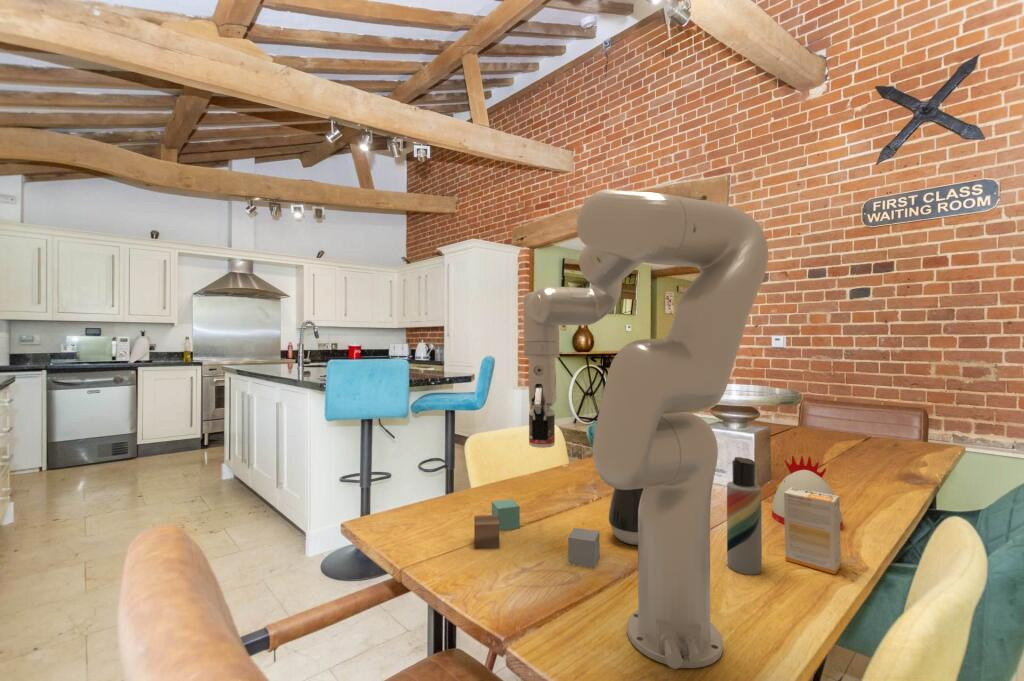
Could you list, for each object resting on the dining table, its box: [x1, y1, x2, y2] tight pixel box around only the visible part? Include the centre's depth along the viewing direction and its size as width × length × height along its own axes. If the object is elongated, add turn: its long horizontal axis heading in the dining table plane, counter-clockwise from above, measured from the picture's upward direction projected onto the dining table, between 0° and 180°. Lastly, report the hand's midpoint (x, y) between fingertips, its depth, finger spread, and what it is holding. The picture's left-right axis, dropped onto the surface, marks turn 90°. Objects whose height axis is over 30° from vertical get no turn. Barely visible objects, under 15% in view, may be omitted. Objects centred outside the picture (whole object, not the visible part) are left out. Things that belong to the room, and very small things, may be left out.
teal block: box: [491, 498, 521, 532], centre depth 107 cm, size 5×5×5 cm
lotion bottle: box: [726, 456, 763, 575], centre depth 87 cm, size 6×6×20 cm
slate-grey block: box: [567, 527, 601, 569], centre depth 90 cm, size 5×5×5 cm
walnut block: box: [473, 514, 500, 550], centre depth 98 cm, size 5×5×5 cm
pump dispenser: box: [608, 488, 644, 546], centre depth 99 cm, size 10×10×15 cm
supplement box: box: [784, 487, 842, 575], centre depth 88 cm, size 8×5×13 cm, turn 44°
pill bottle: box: [528, 399, 556, 449], centre depth 99 cm, size 5×5×10 cm
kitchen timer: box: [771, 455, 844, 531], centre depth 110 cm, size 14×14×15 cm
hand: (542, 435), depth 99 cm, fingers closed on pill bottle, 5 cm apart
